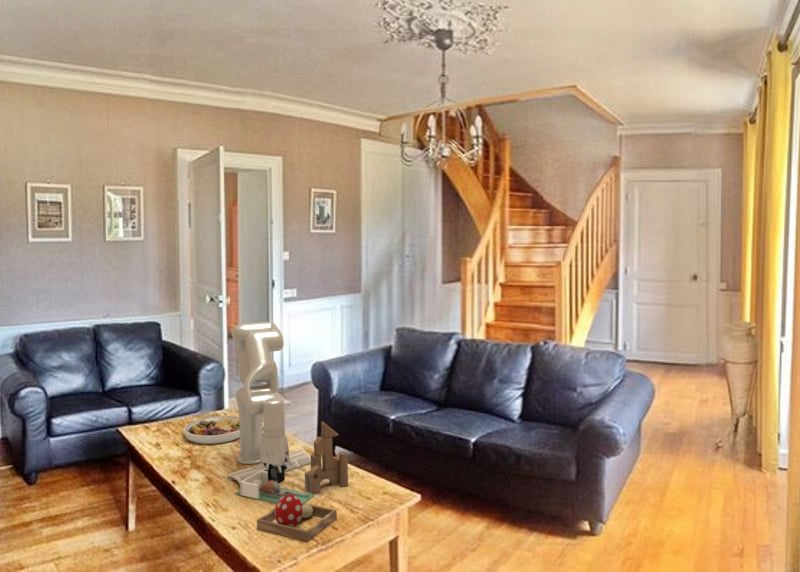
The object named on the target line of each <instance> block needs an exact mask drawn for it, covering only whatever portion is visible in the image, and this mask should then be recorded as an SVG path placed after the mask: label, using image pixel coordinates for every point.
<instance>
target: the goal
mask: <svg viewBox="0 0 800 572" xmlns="http://www.w3.org/2000/svg"><path fill="white" fill-rule="evenodd" d="M257 479H259V480H261V481H262V483H263V484H265V483H266V482H268V472H267V471H262V470H260V471H259V472H257V473H255V474H253V475H251V476H250V477H248V478H246V479H244V480H242V481H241V482H240V485H239V490H240V495H239V496H241V495H243V497H246V496H247V497H246V498H250V497H252V498H251V499H255V498H256V500H259V499H258V498H259V484H254V483H253V481H254V480H257Z"/></svg>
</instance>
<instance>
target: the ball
mask: <svg viewBox="0 0 800 572" xmlns="http://www.w3.org/2000/svg"><path fill="white" fill-rule="evenodd" d="M253 483H254V484H259V490H260V489H261V485H263V483H262V481H261V480H259V479H257V480H254V481H253Z"/></svg>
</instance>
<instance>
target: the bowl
mask: <svg viewBox="0 0 800 572" xmlns="http://www.w3.org/2000/svg"><path fill="white" fill-rule="evenodd" d="M183 433H184V434H183V435H184V437H185V438H186V439H187V440H188V441H191V442H192V443H196V444H199V445H200V444H202V445H216V444H217V445H218V444H223V443H229V442H233V441H235V440H238V439H240V424H239V416H234V415H219V416H210V417H206V418H205V417H204V418H201V419H197V420H193V421H191V422H189V423H188V424H187V425H185V426H184V428H183Z"/></svg>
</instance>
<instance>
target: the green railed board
mask: <svg viewBox="0 0 800 572" xmlns="http://www.w3.org/2000/svg"><path fill="white" fill-rule="evenodd" d="M280 489H283V490H288V491H293V492H297V493H302V494H307V495H311V498H304V497H300V496H297V497H298V498H299V499H300V500H301V501H303V503H306V502H308V501H309V500H311V499H313V498H314V497H315V495H316V494H311V493H310V492H309V493H308V492H303V491H298V490H294V489H288V488H284V487H280ZM261 493H262V488H261V489H260V490H259V498H258V499H256V498H254V499H256V500H259V501H265V502H268V503H269V502H270V503H272V504H277V503H278V501H279V500H280V499H276V498H271V497H267V496H262V495H261ZM265 493H266V492H265ZM234 494H235V495H238V496H241V497H242V496H243V495H240V489H239V490H237V491H235V492H234ZM286 495H287V494H286ZM243 497H244V496H243ZM245 497H246V498H248V497H247V496H245ZM249 498H251V499H253V498H252V497H249Z"/></svg>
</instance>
